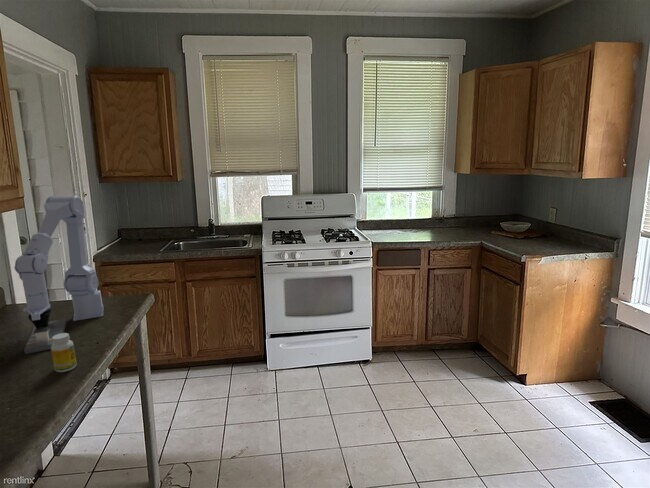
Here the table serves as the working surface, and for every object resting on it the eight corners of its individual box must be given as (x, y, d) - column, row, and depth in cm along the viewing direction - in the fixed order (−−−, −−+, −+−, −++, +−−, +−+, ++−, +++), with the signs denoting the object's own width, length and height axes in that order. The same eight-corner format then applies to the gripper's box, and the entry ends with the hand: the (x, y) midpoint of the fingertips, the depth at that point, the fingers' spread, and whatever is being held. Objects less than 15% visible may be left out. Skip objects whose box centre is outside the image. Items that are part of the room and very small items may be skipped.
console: (66, 322, 154) (65, 315, 153) (59, 347, 134) (58, 339, 134) (36, 327, 150) (35, 320, 149) (25, 354, 131) (23, 345, 130)
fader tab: (50, 338, 137) (47, 326, 136) (49, 341, 134) (46, 329, 134) (37, 340, 135) (35, 328, 134) (36, 343, 133) (33, 331, 132)
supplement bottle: (55, 366, 123) (50, 334, 120) (77, 361, 125) (72, 330, 123) (53, 374, 118) (47, 341, 116) (76, 369, 120) (71, 337, 118)
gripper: (24, 288, 139) (32, 328, 142) (15, 302, 126) (24, 345, 129) (50, 284, 142) (57, 324, 145) (44, 298, 129) (52, 340, 132)
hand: (43, 334), depth 137 cm, fingers closed
